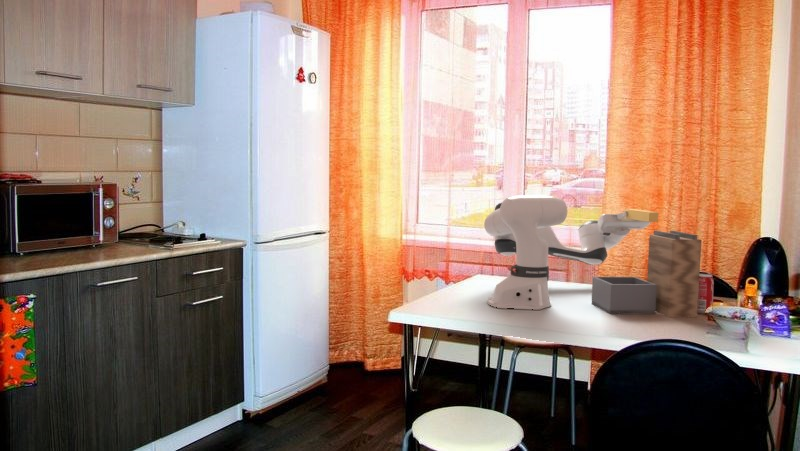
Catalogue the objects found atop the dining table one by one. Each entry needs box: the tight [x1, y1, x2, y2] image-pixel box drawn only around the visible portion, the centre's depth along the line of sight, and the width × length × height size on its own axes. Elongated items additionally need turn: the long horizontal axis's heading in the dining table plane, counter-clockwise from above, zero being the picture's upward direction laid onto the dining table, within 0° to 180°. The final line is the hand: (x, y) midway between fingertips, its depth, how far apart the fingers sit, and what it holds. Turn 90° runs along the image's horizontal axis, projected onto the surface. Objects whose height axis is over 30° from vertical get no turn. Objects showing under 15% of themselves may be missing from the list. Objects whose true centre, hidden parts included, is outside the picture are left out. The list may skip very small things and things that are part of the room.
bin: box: [591, 276, 657, 315], centre depth 224 cm, size 16×16×10 cm
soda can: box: [697, 273, 715, 315], centre depth 221 cm, size 7×7×13 cm
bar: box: [624, 208, 659, 223], centre depth 243 cm, size 4×20×4 cm, turn 5°
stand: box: [646, 230, 702, 318], centre depth 219 cm, size 10×16×28 cm, turn 5°
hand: (632, 212), depth 250 cm, fingers closed on bar, 3 cm apart
